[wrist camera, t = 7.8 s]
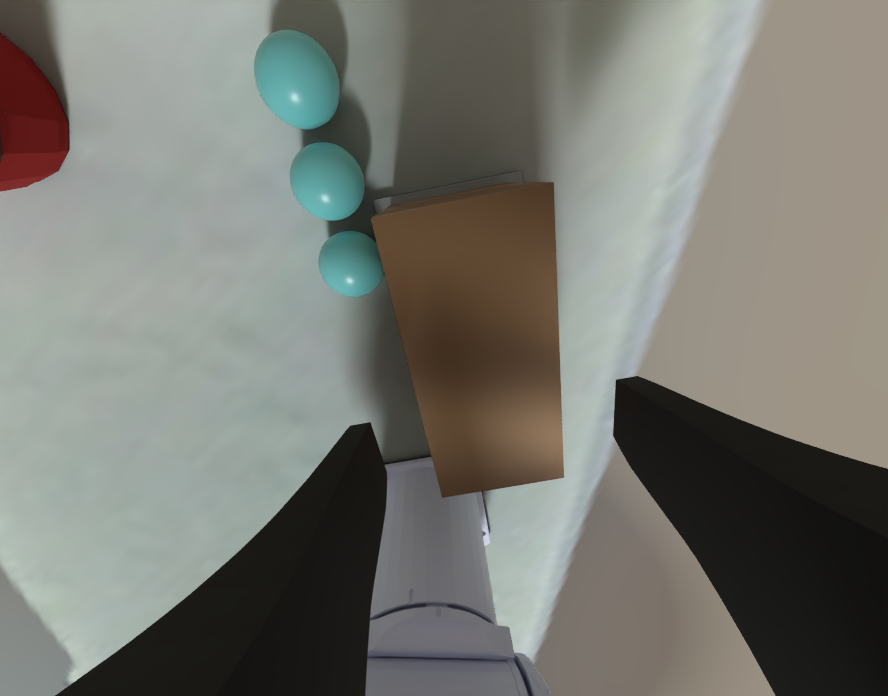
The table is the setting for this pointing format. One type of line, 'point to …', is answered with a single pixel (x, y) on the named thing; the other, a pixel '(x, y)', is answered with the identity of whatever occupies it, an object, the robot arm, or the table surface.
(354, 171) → the marble
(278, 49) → the teal egg
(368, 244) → the marble
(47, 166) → the plastic cup
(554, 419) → the wooden block
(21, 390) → the table surface
